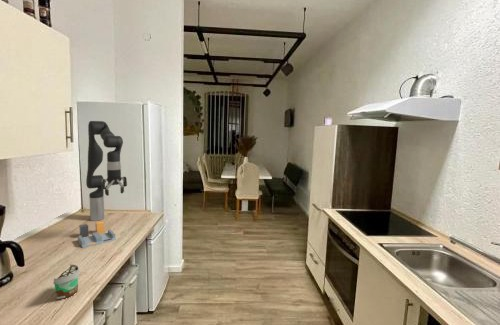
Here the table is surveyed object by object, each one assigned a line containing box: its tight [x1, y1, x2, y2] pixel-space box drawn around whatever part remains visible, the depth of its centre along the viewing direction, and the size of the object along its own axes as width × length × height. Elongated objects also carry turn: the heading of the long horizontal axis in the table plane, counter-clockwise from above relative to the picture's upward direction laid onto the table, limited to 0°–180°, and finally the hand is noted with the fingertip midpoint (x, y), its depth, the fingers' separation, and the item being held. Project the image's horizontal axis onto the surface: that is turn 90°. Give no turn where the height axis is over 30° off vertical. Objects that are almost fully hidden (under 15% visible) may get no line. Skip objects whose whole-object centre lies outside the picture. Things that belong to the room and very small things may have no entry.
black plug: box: [79, 223, 90, 238], centre depth 171 cm, size 4×4×7 cm
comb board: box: [77, 228, 117, 249], centre depth 165 cm, size 13×18×4 cm
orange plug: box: [94, 220, 105, 234], centre depth 177 cm, size 4×4×7 cm
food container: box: [53, 264, 81, 301], centre depth 113 cm, size 12×6×10 cm, turn 5°
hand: (114, 194), depth 167 cm, fingers open, 8 cm apart
